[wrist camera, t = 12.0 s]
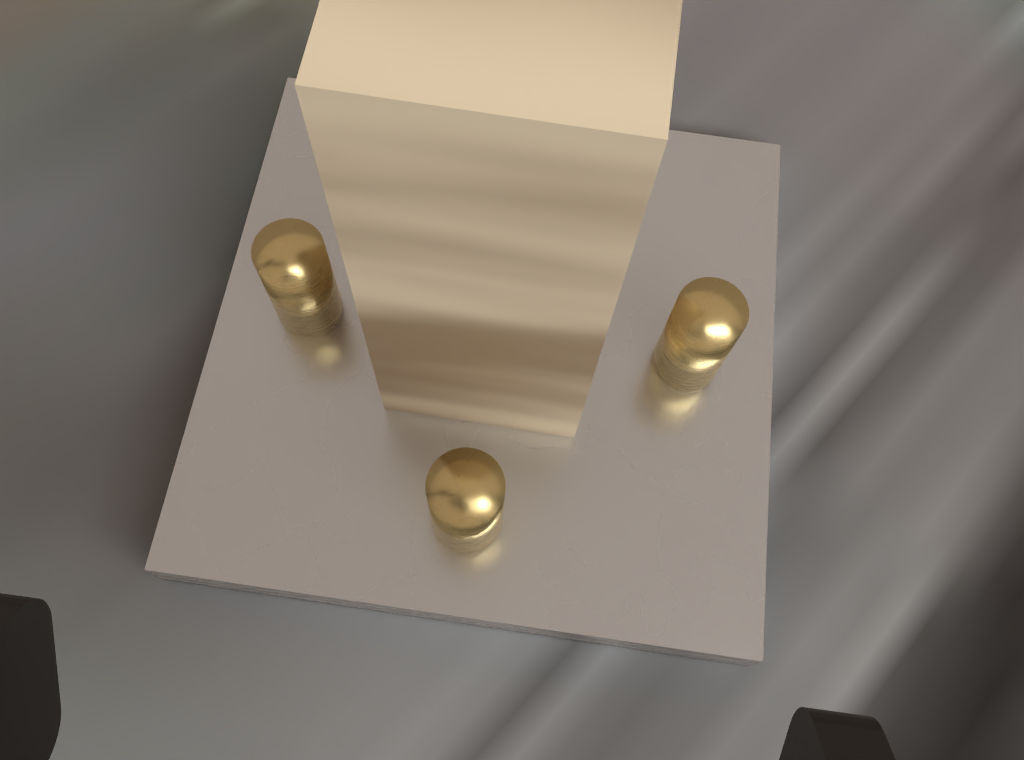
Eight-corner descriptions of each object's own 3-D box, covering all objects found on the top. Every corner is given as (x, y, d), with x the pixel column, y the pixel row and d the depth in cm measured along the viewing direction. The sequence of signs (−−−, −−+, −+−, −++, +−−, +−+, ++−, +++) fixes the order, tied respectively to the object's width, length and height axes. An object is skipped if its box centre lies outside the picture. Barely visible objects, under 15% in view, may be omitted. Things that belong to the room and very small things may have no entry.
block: (574, 438, 19) (667, 140, 10) (383, 408, 19) (293, 84, 10) (596, 270, 20) (696, -129, 11) (420, 243, 20) (372, -175, 11)
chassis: (748, 665, 18) (806, 648, 15) (161, 578, 18) (93, 543, 15) (768, 169, 23) (816, 73, 19) (295, 104, 23) (265, -2, 20)
